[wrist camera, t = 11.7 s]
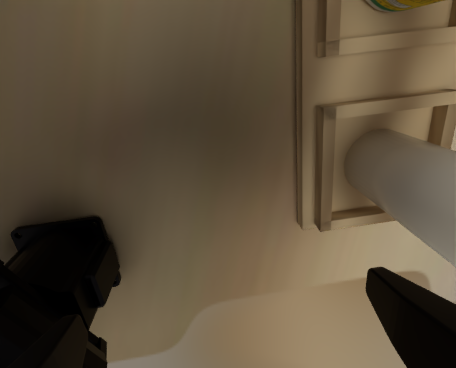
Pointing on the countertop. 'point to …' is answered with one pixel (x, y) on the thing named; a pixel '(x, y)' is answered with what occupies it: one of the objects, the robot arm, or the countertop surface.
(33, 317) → the robot arm
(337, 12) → the caddy
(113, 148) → the countertop surface
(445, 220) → the white rounded rod
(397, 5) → the supplement bottle
